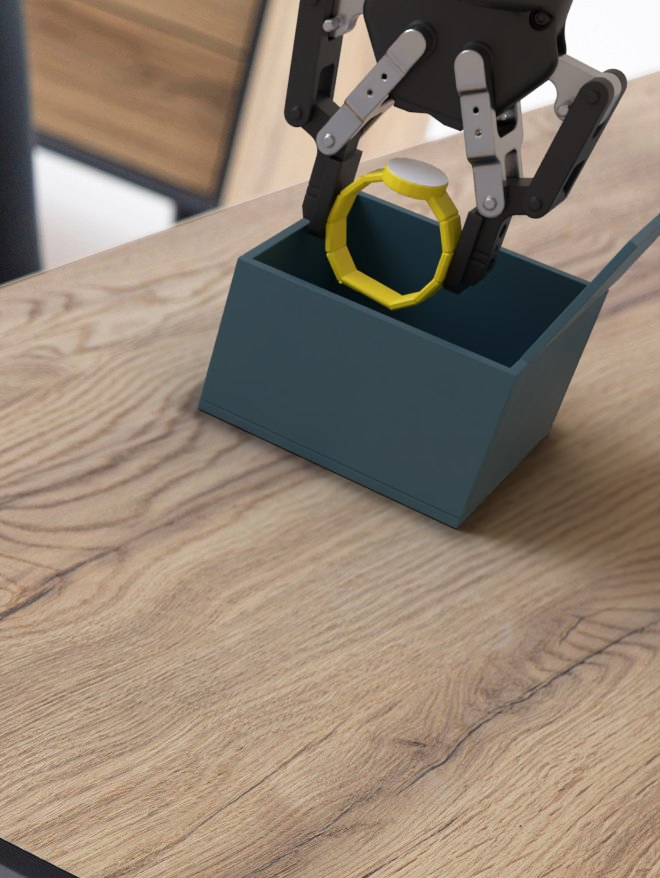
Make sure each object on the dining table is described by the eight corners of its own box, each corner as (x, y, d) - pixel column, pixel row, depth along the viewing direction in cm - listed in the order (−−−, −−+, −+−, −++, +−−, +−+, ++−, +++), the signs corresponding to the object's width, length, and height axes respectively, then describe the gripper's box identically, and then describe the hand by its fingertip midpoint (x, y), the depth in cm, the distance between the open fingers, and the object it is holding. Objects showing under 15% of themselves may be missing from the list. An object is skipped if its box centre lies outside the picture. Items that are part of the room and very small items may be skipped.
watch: (301, 277, 78) (338, 150, 74) (332, 262, 80) (369, 137, 76) (417, 331, 76) (461, 202, 72) (446, 314, 77) (490, 187, 74)
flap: (612, 273, 78) (618, 279, 78) (520, 358, 69) (527, 364, 69) (714, 163, 73) (722, 169, 73) (629, 239, 65) (637, 247, 65)
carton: (549, 432, 83) (609, 289, 78) (456, 529, 74) (517, 376, 70) (309, 327, 87) (352, 187, 83) (196, 408, 79) (237, 257, 74)
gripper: (726, -101, 67) (567, 295, 77) (390, -202, 72) (283, 181, 82) (670, -72, 61) (507, 348, 72) (312, -184, 67) (209, 223, 77)
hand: (388, 258), depth 77 cm, fingers closed on watch, 6 cm apart
